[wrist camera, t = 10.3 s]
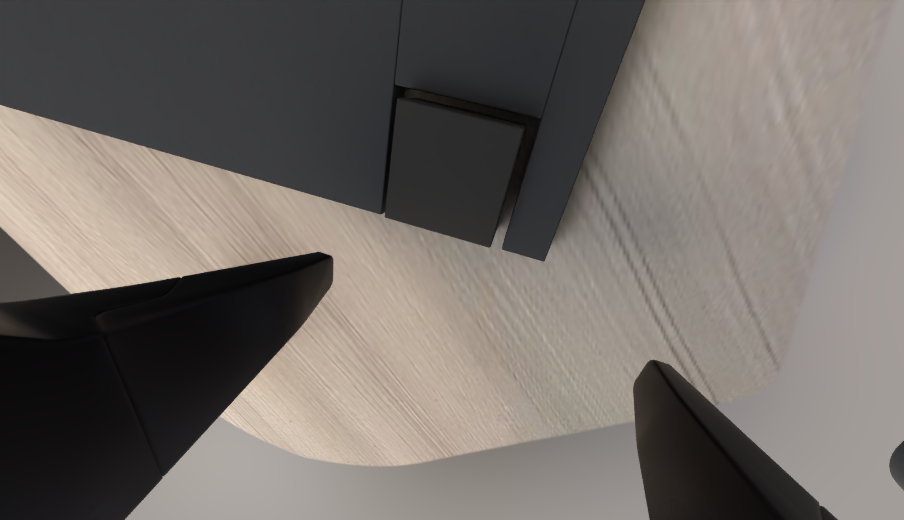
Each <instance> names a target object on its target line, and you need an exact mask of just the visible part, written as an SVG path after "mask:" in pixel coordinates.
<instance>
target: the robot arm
mask: <svg viewBox="0 0 904 520" xmlns="http://www.w3.org/2000/svg"><path fill="white" fill-rule="evenodd" d="M332 282H333V258H332V256H330V255H327V254H324V253H321V252H316V253H310V254H305V255H299V256H293V257H288V258H282V259H277V260H271V261H266V262H260V263H255V264H249V265H244V266H238V267H233V268H227V269H222V270H216V271H211V272H205V273H200V274H194V275H188V276H183V277H182V278H180V277H177V278H171V279H166V280H160V281H154V282H149V283H143V284H137V285H130V286H124V287H117V288H110V289H103V290H96V291H89V292H81V293H74V294H67V295H60V296H52V297H45V298H37V299H30V300H23V301H14V302H3V303H2V302H1V303H0V520H125V518H127V516H128V515H129V514H130V513H131V512H132V511H133V510H134V509H135V508H136V507H137V506H138V504H139V503H140V502H141V501H142V500H143V499H144V498H145V497H146V496H147V495H148V494H149V492H150V491H151V490H152V489H153V488H154V487H155V486H156V485H157V484H158V483H159V482H160V480H161V479H162V476H164V475H166V474H167V473H168V471H169V470H170V469H171V468H172V467H173V466H174V465H175V464H176V463H177V462H178V460H179V459H180V458H181V457H182V456H183V455H184V454H185V453H186V452H187V451H188V450H189V448H190V447H191V446H192V445H193V444H194V443H195V442H196V441H197V440H198V439H199V438H200V437H201V435H202V434H203V433H204V432H205V431H206V430H207V429H208V428H209V427H210V426H211V425H212V423H213V422H214V421H215V420H216V419H217V418H218V417H219V416H220V415H221V414H222V413H223V411H224V410H225V409H226V408H227V407H228V406H229V405H230V404H231V403H232V402H233V401H234V399H235V398H236V397H237V396H238V395H239V394H240V393H241V392H242V391H243V390H244V389H245V388H246V386H247V385H248V384H249V383H250V382H251V381H252V380H253V379H254V378H255V377H256V376H257V374H258V373H259V372H260V371H261V370H262V369H263V368H264V367H265V366H266V365H267V364H268V362H269V361H270V360H271V359H272V358H273V357H274V356H275V355H276V354H277V353H278V352H279V350H280V349H281V348H282V347H283V346H284V345H285V344H286V343H287V342H288V341H289V340H290V338H291V337H292V336H293V335H294V334H295V333H296V332H297V331H298V330H299V328H300V327H301V326H302V325H303V324H304V322H305V321H306V320H307V318H308V317H309V316H310V314H311V313H312V312H313V310H314V309H315V308H316V306H317V305H318V303H319V302H320V301H321V299H322V298H323V297H324V295H325V294H326V293H327V291H328V290H329V288H330V287H331V285H332ZM633 395H634V411H635V427H636V441H637V449H638V456H639V461H640V468H641V473H642V478H643V484H644V490H645V496H646V501H647V507H648V512H649V518H650V520H837V519H836V518H835V517H834V516H833V515H832V514H831V513H830V512H829V511H828V510H827V509H825V508H824V507H823V506H819V502H818V501H817V500H816V499H815V498H813V497H812V496H811V495H810V494H809V493H808V492H807V491H806V490H805V489H804V488H803V487H802V486H800V485H799V484H798V483H797V482H796V481H795V480H794V479H793V478H792V477H791V476H789V474H787V473H786V472H785V471H784V470H783V469H782V468H781V467H780V466H779V465H778V464H777V463H776V462H774V461H773V460H772V459H771V458H770V457H769V456H768V455H767V454H766V453H765V452H764V451H763V450H761V449H760V448H759V447H758V446H757V445H756V444H755V443H754V442H753V441H752V440H751V439H750V438H748V437H747V436H746V435H745V434H744V433H743V432H742V431H741V430H740V429H739V428H738V427H736V426H735V425H734V424H733V423H732V422H731V421H730V420H729V419H728V418H727V417H726V416H724V414H722V413H721V412H720V411H719V410H718V409H717V408H716V407H715V406H714V405H713V404H712V403H711V402H709V401H708V400H707V399H706V398H705V397H704V396H703V395H702V394H701V393H700V392H699V391H698V390H696V389H695V388H694V387H693V386H692V385H691V384H690V383H689V382H688V381H687V380H686V379H685V378H683V377H682V376H681V375H680V374H679V373H678V372H677V371H676V370H675V369H674V368H673V367H672V366H670V365H669V364H666V363H663V362H660V361H657V360H650V361H649V362H648V363H647V364H646V366H645V367H644V369H643V370H642V372H641V373H640V374H639V376H638V377H637V379H636V381H635V383H634V387H633Z"/></svg>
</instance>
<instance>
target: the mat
mask: <svg viewBox="0 0 904 520" xmlns="http://www.w3.org/2000/svg"><path fill="white" fill-rule="evenodd" d="M644 2H645V0H0V105H3V106H6V107H10V108H13V109H16V110H20V111H23V112H27V113H30V114H34V115H37V116H41V117H44V118H48V119H51V120H55V121H58V122H62V123H65V124H69V125H72V126H75V127H79V128H82V129H86V130H89V131H93V132H96V133H100V134H103V135H107V136H110V137H114V138H117V139H121V140H124V141H128V142H131V143H135V144H138V145H141V146H145V147H148V148H152V149H155V150H159V151H162V152H166V153H169V154H173V155H176V156H180V157H183V158H187V159H190V160H194V161H197V162H200V163H204V164H207V165H211V166H214V167H218V168H221V169H225V170H228V171H232V172H235V173H239V174H242V175H246V176H249V177H253V178H256V179H260V180H263V181H266V182H270V183H273V184H277V185H280V186H284V187H287V188H291V189H294V190H298V191H301V192H305V193H308V194H312V195H315V196H319V197H322V198H326V199H329V200H332V201H336V202H339V203H343V204H346V205H350V206H353V207H357V208H360V209H364V210H367V211H371V212H374V213H378V214H382V213H384V212H385V210H386V201H387V191H388V182H389V172H390V163H391V153H392V144H393V134H394V125H395V115H396V106H397V99H398V98H403V96H404V87H407V88H411V89H416V90H420V91H424V92H428V93H433V94H437V95H441V96H445V97H450V98H454V99H458V100H462V101H467V102H471V103H475V104H480V105H484V106H488V107H492V108H497V109H501V110H505V111H509V112H514V113H518V114H522V115H526V116H531V117H535V118H539V119H540V118H541V121H540V124H539V128H538V131H537V134H536V137H535V141H534V144H533V147H532V151H531V154H530V157H529V160H528V164H527V167H526V170H525V173H524V177H523V180H522V183H521V187H520V190H519V193H518V196H517V200H516V203H515V206H514V209H513V213H512V216H511V219H510V223H509V226H508V229H507V232H506V236H505V239H504V243H503V246H502V249H503V250H506V251H509V252H513V253H516V254H520V255H523V256H527V257H530V258H533V259H537V260H540V261H545V259H546V256H547V253H548V251H549V248H550V246H551V243H552V240H553V238H554V235H555V233H556V230H557V227H558V225H559V222H560V220H561V217H562V214H563V212H564V209H565V207H566V204H567V202H568V199H569V196H570V194H571V191H572V189H573V186H574V183H575V181H576V178H577V176H578V173H579V170H580V168H581V165H582V163H583V160H584V157H585V155H586V152H587V150H588V147H589V144H590V142H591V139H592V137H593V134H594V132H595V129H596V126H597V124H598V121H599V119H600V116H601V113H602V111H603V108H604V106H605V103H606V100H607V98H608V95H609V93H610V90H611V87H612V85H613V82H614V80H615V77H616V74H617V72H618V69H619V67H620V64H621V62H622V59H623V56H624V54H625V51H626V49H627V46H628V43H629V41H630V38H631V36H632V33H633V30H634V28H635V25H636V23H637V20H638V17H639V15H640V12H641V10H642V7H643V4H644Z"/></svg>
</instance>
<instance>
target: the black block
mask: <svg viewBox="0 0 904 520" xmlns="http://www.w3.org/2000/svg"><path fill="white" fill-rule="evenodd" d="M525 129H526V124H523V123H519V122H515V121H511V120H507V119H502V118H498V117H494V116H490V115H486V114H482V113H477V112H473V111H469V110H465V109H461V108H457V107H452V106H448V105H444V104H440V103H436V102H431V101H427V100H423V99H419V98H398V99H397V106H396V115H395V125H394V134H393V144H392V153H391V163H390V172H389V182H388V191H387V201H386V210H385V217H386V218H389V219H393V220H396V221H400V222H403V223H406V224H410V225H413V226H417V227H420V228H424V229H427V230H431V231H434V232H437V233H441V234H444V235H448V236H451V237H455V238H458V239H462V240H465V241H468V242H472V243H475V244H479V245H482V246H486V247H491V244H492V241H493V239H494V236H495V233H496V230H497V226H498V223H499V219H500V216H501V212H502V209H503V205H504V202H505V199H506V195H507V192H508V188H509V185H510V181H511V178H512V174H513V171H514V167H515V164H516V161H517V157H518V154H519V150H520V147H521V143H522V140H523V136H524V133H525Z"/></svg>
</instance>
